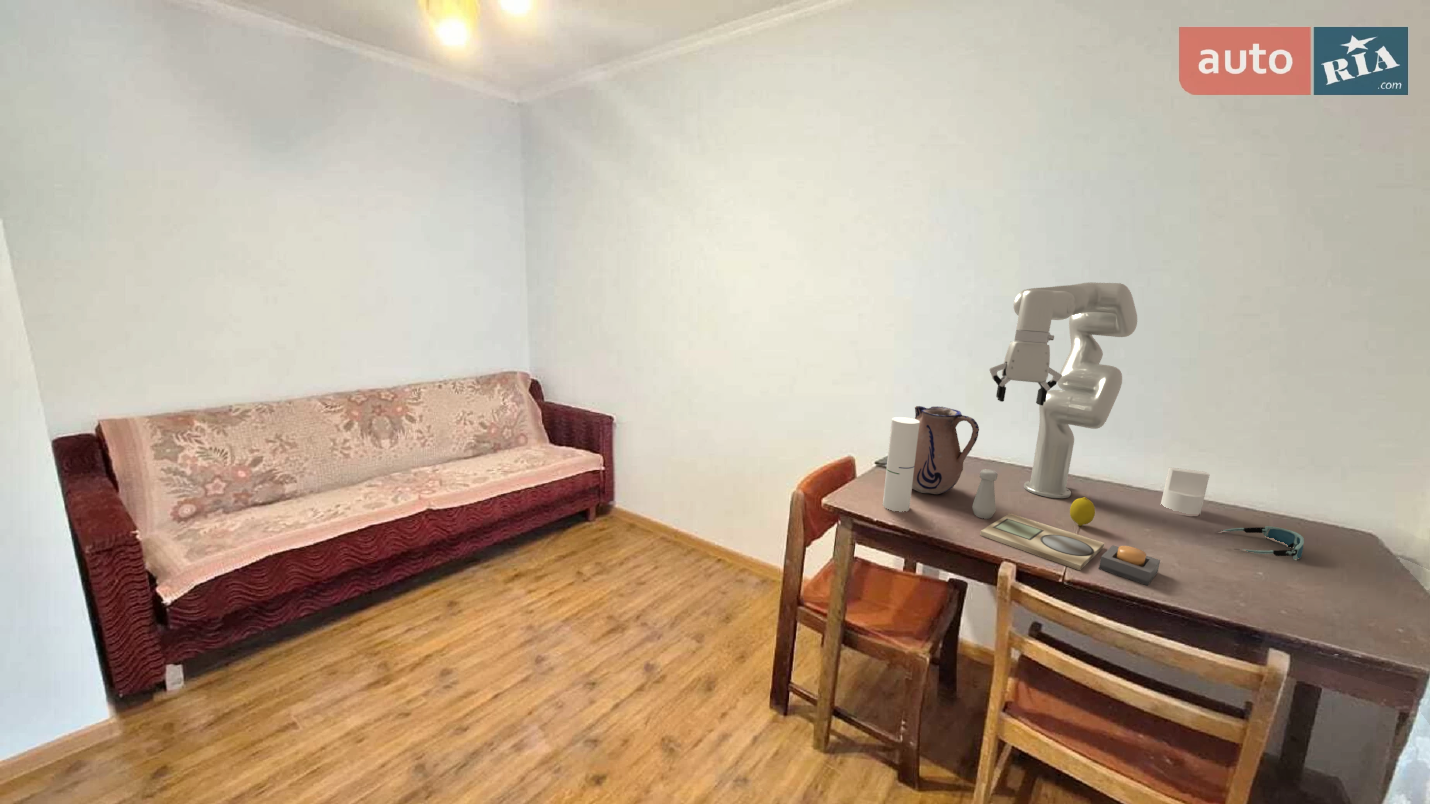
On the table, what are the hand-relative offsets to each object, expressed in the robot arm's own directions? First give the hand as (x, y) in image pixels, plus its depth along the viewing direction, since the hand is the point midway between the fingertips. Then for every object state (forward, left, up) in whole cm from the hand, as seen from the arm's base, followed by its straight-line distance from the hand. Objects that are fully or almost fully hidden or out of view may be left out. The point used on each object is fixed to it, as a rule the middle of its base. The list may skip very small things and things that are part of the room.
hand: (1019, 402), depth 149 cm
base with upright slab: (-45, +31, -32) cm, 64 cm away
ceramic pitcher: (0, -21, -32) cm, 38 cm away
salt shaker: (+7, -2, -32) cm, 32 cm away
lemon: (-8, +16, -32) cm, 36 cm away
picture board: (+11, +14, -31) cm, 36 cm away
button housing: (+11, +32, -31) cm, 46 cm away
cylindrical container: (+21, -20, -32) cm, 43 cm away
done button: (+11, +32, -29) cm, 44 cm away
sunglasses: (-32, +49, -32) cm, 67 cm away
